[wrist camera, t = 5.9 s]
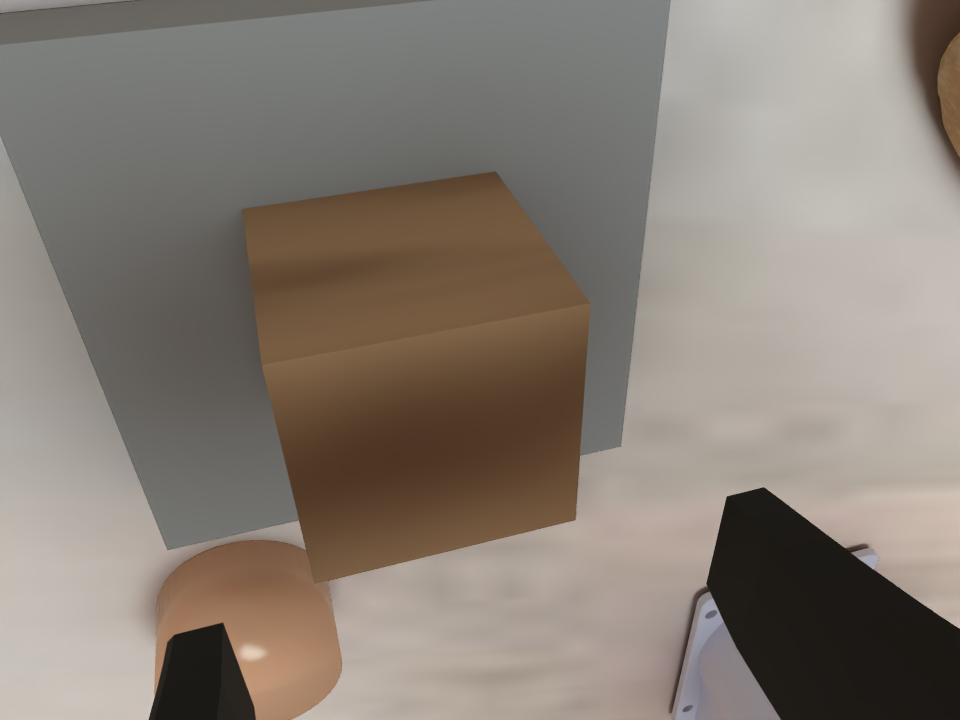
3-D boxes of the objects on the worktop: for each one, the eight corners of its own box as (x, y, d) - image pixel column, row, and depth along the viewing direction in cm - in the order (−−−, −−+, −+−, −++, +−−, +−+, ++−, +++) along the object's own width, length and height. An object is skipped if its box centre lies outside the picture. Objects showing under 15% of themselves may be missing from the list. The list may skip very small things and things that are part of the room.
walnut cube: (498, 366, 19) (575, 519, 16) (286, 408, 18) (314, 583, 15) (495, 171, 16) (590, 303, 13) (241, 208, 15) (262, 364, 12)
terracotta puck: (337, 621, 27) (352, 704, 25) (180, 662, 26) (180, 751, 24) (315, 521, 24) (329, 604, 22) (136, 561, 23) (131, 654, 21)
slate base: (593, 401, 24) (620, 446, 22) (168, 492, 21) (167, 550, 20) (627, -47, 17) (673, -25, 15) (-12, 14, 14) (-35, 48, 13)
